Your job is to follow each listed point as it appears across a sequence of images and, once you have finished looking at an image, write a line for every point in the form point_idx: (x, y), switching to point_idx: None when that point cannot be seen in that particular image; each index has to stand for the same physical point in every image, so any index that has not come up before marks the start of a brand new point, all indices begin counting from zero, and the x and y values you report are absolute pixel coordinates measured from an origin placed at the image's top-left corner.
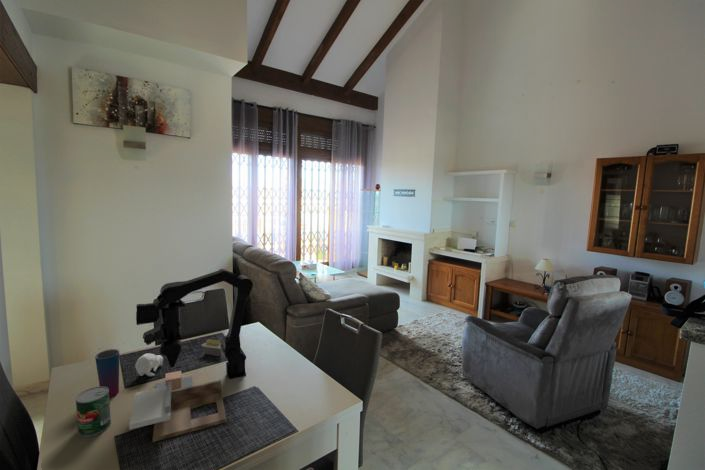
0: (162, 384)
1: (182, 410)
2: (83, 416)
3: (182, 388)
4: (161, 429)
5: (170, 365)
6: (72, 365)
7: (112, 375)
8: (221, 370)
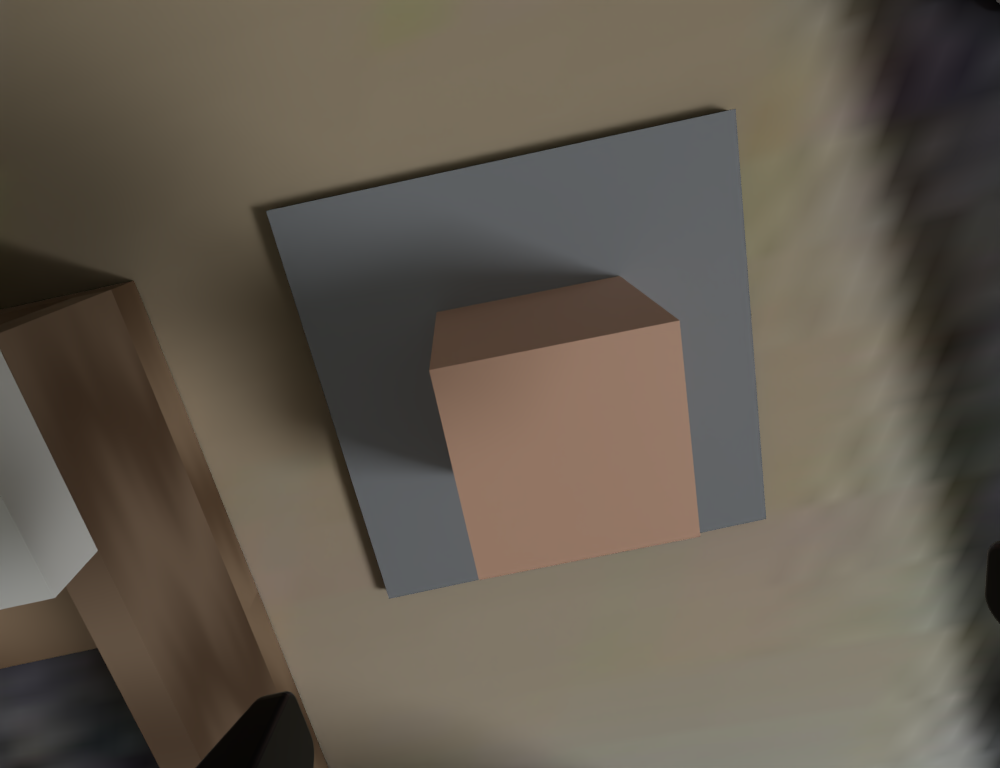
0: (680, 210)
1: None
2: None
3: (145, 670)
4: None
5: (214, 765)
6: None
7: None
8: (795, 756)
